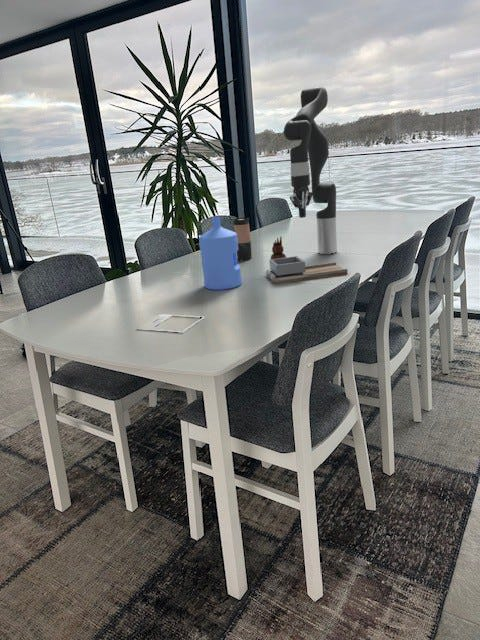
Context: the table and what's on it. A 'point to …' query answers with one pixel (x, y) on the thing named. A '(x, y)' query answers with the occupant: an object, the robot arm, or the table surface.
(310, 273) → the rail board
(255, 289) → the table surface
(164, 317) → the photo frame
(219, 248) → the water jug
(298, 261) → the shallow grey tray
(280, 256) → the wooden figurine
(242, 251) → the travel mug
